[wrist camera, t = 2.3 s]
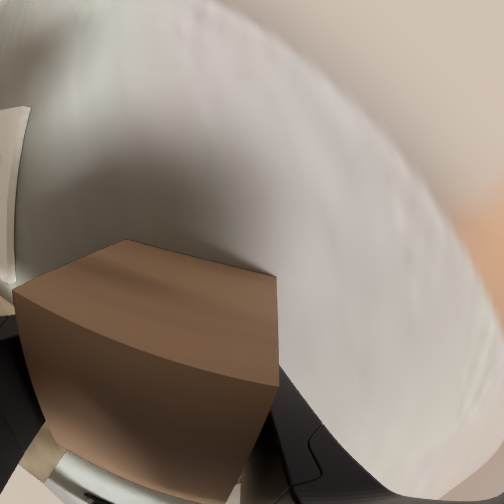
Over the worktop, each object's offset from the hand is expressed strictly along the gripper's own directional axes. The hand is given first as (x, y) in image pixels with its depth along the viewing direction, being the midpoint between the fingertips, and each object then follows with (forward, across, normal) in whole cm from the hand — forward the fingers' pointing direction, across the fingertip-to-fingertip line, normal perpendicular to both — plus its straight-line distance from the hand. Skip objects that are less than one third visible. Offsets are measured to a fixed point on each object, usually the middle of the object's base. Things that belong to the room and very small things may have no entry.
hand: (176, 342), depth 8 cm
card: (+1, +12, -3) cm, 12 cm away
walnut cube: (+1, 0, 0) cm, 1 cm away
